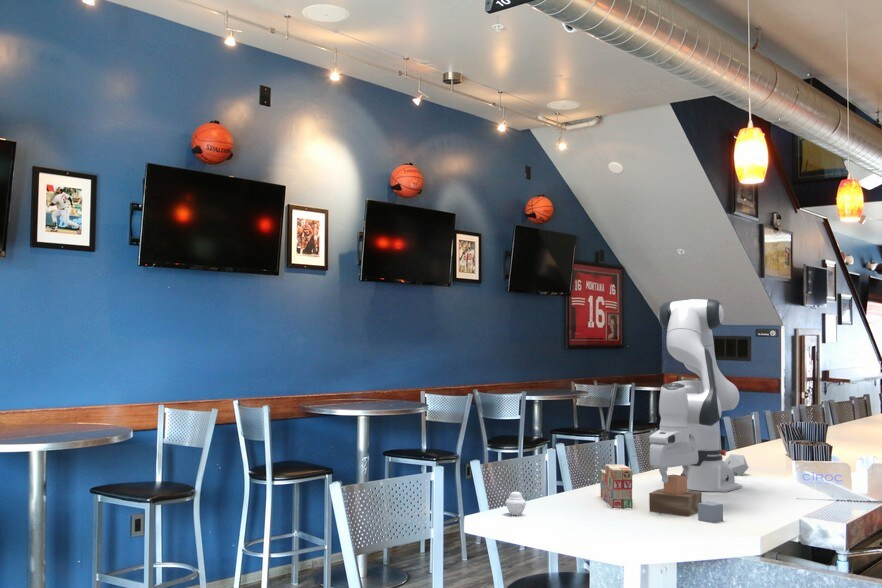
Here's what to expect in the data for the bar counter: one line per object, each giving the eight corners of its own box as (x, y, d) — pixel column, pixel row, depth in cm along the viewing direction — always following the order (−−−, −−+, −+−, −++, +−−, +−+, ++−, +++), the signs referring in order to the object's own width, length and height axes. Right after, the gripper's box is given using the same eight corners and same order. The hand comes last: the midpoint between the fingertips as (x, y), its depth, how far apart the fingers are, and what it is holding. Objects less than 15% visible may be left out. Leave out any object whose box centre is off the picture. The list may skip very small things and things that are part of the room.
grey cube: (708, 518, 235) (707, 501, 235) (723, 521, 231) (722, 503, 231) (698, 520, 232) (697, 503, 232) (713, 523, 228) (712, 505, 228)
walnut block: (664, 507, 254) (664, 488, 254) (701, 511, 247) (701, 492, 247) (649, 512, 244) (649, 493, 245) (687, 517, 237) (687, 497, 238)
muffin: (523, 517, 235) (523, 493, 235) (503, 515, 237) (503, 492, 238) (528, 513, 241) (528, 490, 241) (508, 512, 243) (508, 488, 243)
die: (723, 474, 329) (717, 456, 325) (741, 463, 330) (735, 445, 326) (736, 484, 321) (730, 466, 317) (754, 473, 322) (748, 455, 318)
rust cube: (673, 490, 250) (673, 474, 250) (687, 492, 246) (686, 476, 246) (663, 492, 247) (663, 475, 247) (677, 494, 243) (676, 477, 243)
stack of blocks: (600, 497, 271) (599, 460, 272) (618, 497, 271) (618, 460, 272) (612, 509, 249) (612, 469, 250) (633, 509, 249) (632, 469, 250)
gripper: (686, 433, 256) (686, 476, 255) (645, 436, 244) (646, 482, 243) (703, 434, 251) (704, 479, 250) (662, 438, 239) (663, 485, 238)
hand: (675, 480), depth 246 cm, fingers open, 8 cm apart
